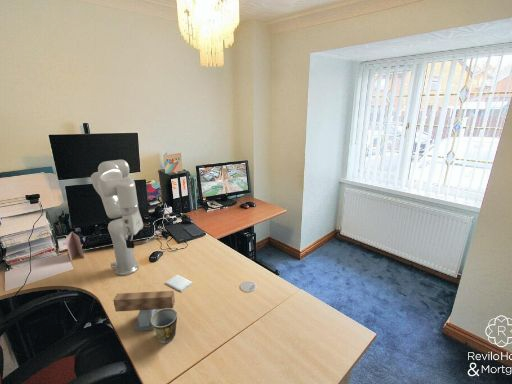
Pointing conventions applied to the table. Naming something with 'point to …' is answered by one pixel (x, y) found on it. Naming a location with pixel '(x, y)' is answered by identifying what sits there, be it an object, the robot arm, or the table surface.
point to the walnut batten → (144, 301)
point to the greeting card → (74, 245)
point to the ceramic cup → (165, 324)
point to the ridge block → (145, 320)
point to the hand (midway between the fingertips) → (134, 242)
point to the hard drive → (179, 283)
